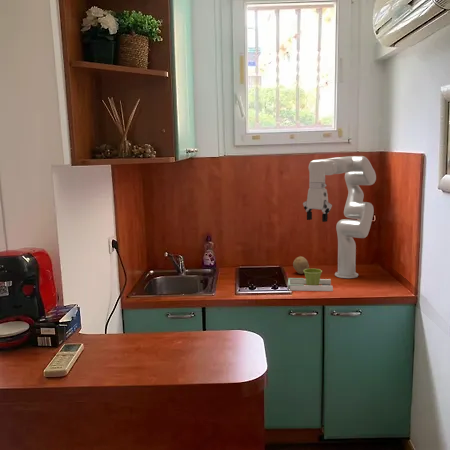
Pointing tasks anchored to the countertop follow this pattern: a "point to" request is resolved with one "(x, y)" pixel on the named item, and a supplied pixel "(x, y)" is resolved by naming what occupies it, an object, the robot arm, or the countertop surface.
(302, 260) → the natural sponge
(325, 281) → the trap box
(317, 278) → the plant pot
